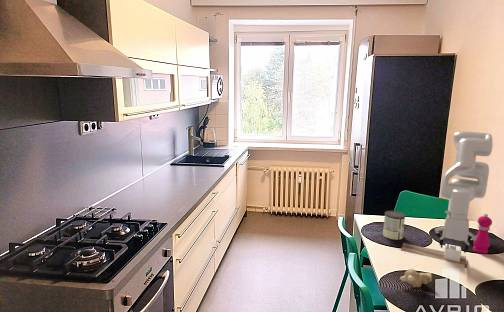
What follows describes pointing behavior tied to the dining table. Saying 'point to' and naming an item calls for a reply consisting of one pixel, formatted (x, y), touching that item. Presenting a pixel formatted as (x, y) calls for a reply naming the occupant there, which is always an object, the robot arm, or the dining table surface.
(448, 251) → the white block
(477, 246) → the pepper mill
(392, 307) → the dining table surface
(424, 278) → the beige lumpy piece
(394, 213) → the coffee can
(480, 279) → the dining table surface
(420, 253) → the grey brown bent bar
